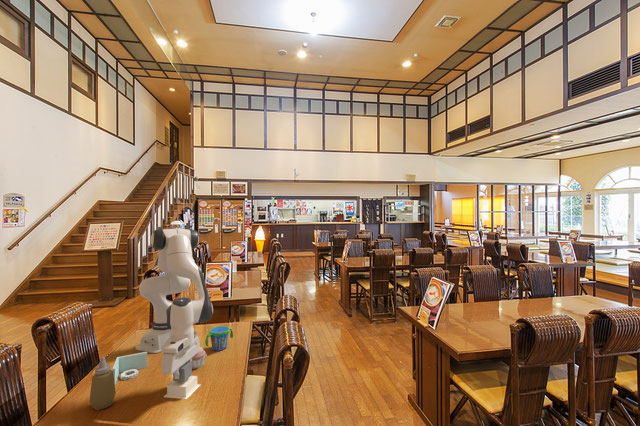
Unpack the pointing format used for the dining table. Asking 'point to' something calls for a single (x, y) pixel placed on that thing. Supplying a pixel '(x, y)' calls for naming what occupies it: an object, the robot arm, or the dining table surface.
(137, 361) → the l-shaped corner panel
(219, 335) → the snack cup
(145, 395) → the dining table surface
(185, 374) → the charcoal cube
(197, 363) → the cupcake
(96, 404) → the squeeze bottle
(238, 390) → the dining table surface
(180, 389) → the cream base block
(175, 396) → the light grey flat slab
